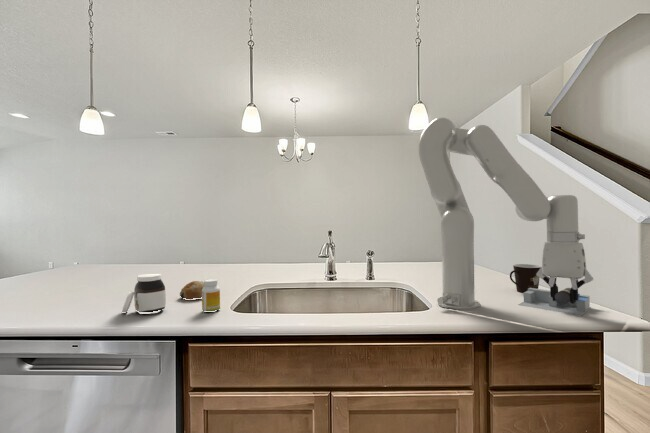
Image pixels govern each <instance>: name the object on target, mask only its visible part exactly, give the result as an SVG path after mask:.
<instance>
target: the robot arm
mask: <svg viewBox="0 0 650 433" xmlns="http://www.w3.org/2000/svg"><path fill="white" fill-rule="evenodd" d="M418 141H419V142H418V156H419V157H418V158H419V160H420V163H421V167H422V169H423V173H424V175H425V178H426V181H427V184H428V186H429V190H430V194H431V198H432V199H433V200H434V201H435V204H436V207H437V209H438V211H439V215H440V217H441V222H440V231H441V232H440V234H441V258H442V259H441V262H442V263H441V265H442V266H441V268H442V270H441V272H442V278H441V280H442V296H441V297H438V298H437V300H436V301H437V305H438V306H440V307H444V308H445V309H450V310H453V309H454V310H458V309H459V310H473V309H478V308H479V307H481V303H480V302H479V301H478V300H476V299H475V297H476V296H475V294H476V293H475V243H474V242H475V240H474V238H475V219H474V216H473V214H472V212H471V210H470V207H469V206H468V203H467V200H466V197H465V195H464V191H463V190H462V187H461V183H460V181H459V180H458V178H457V176H456V175H455V172H454V169H453V167H452V164H451V161H450V158H449V155H448V152H449V153H453V154H459V155H464V156H465V155H466V156H471V157H472V156H473V157H474V158H475V160H476V161H477V162H478V163H479V165H480V167H481V168H482V169H483V170H484V171H483V172H484V173H486V175H487V176H488V178H490V180H492V182H493V183H495V184H496V185H498V186H499V187H500V188H501V189H502V190H503V191H504V192H505V194H506V195H507V196H508V197H509V198H510V200H511V201H512V202H513V204H514V205H515V212H516V215H517V216H518V218H520V219H522V220H524V221H527V222H540V221H542V220H545V219H546V241H545V242H544V244H543V249H542V256H541V257H542V258H541V260H542V261H541V268H540V269H539V271H538V272H537V274H536V275H537V276H538V277H540V278H539V279H542V280H543V281H544V282H545V283H546V285H548V287H549V288H550V295H551V297H553V301H556V300H555V294H556V293H557V292H559V286H558V285H557V279H558V278H564V279H570V284H571V287H570V288H571V289H570V303H572V304H574V303H575V302H576V301H578V294H579V288H581V287H582V286H583V285H586V284H588V283H591V282H592V281H594V277H593V276H592V275H591V274H590V272H589V270H588V269H587V261H586V254H585V248H584V244H583V242H580V241H581V240H585V239H586V234H582V233H580V231H579V208H578V206H579V205H578V204H579V203H578V202H579V201H578V198H577V197H576V196H575V195H572V194H559V195H551V196H548V197H547V196H546V195H545V193H544V192H543V191H542V189H541V188H540V187H539V186H538V184H537V183H536V182H535V180H533V178H532V177H531V176H530V174H528V172H526V171H525V169H524V168H523V167H522V166H521V165H520V163H518V161H517V160H516V158H515V157H514V156H513V155H512V154H511V152H510V151H509V150H508V148H507V147H506V146H505V145H504V144H503V141H501V139H500V138H499V137H498V135H497V134H496V132H495V131H494V130H493V129H492V128H491V127H490V126H489V125H485V124H478V125H475V126H473V127H472V128H471V129H468V128H467V129H465V128H460V127H456V125H455V123H454V122H453V121H452V120H451V119H450V118H446V117H436V118H435V119H433V120H431V122H430V123H428V124H427V126H426V127H425V128H424V129H423V130H422V133H421V135H420V138H419V140H418ZM582 278H583V279H582ZM579 279H581V280H579Z"/></svg>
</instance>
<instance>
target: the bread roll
mask: <svg viewBox="0 0 650 433" xmlns="http://www.w3.org/2000/svg"><path fill="white" fill-rule="evenodd" d="M204 287H205V285H204V281H202V280H201V281H199V280H192V281H190V282H188V283H187V284H185V285H184V286H183V287H182V288H181V291H180V292H179V297H180V296H181V297H182V298H186V299H193V298H201V297H202V289H203V288H204ZM181 297H180V298H181ZM182 298H181V299H182Z"/></svg>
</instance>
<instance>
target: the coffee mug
mask: <svg viewBox="0 0 650 433" xmlns="http://www.w3.org/2000/svg"><path fill="white" fill-rule="evenodd" d="M541 267H542V265H541V266H540V265H537V264H528V263H527V264H526V263H525V264H524V263H517V264H513V267H512V268H513V270H511V271H510V273H509V279H510V281H511V282H512V283H513V284H514V285H515V288H516V289H515V290H516V292H518V293H520V294H524V292H526V291H528V288H535V289H539V285H540V279H541V278H540V277H538V276H537V275H536V274H537V272H538V271H539V269H540V268H541ZM513 274H514V279H513V276H512V275H513Z"/></svg>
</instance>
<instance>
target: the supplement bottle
mask: <svg viewBox="0 0 650 433" xmlns="http://www.w3.org/2000/svg"><path fill="white" fill-rule="evenodd" d="M203 282H204V285H205V287H204V288H203V289H202V300H201V308H202V309H201V310H203V311H215V310H219V309H220V310H221V289H220V286H218V279H216V278H215V279H214V278H213V279H212V278H211V279H206V280H205V279H204V280H203ZM220 310H219V311H220ZM203 311H202V312H203Z"/></svg>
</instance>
